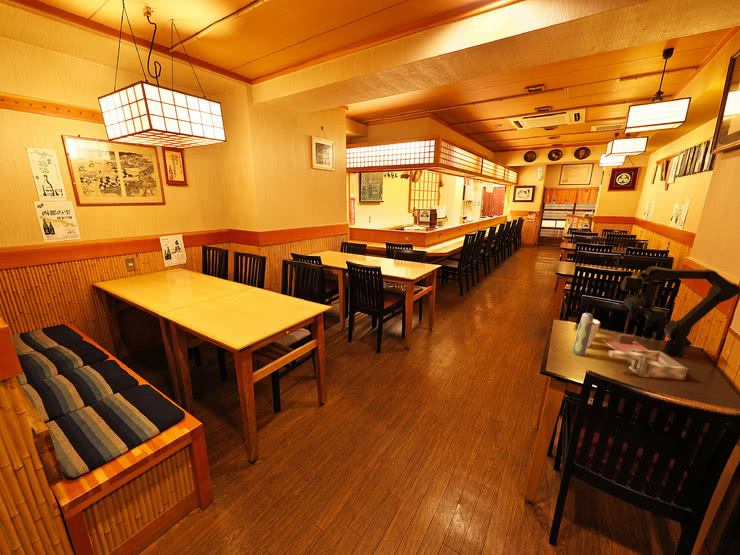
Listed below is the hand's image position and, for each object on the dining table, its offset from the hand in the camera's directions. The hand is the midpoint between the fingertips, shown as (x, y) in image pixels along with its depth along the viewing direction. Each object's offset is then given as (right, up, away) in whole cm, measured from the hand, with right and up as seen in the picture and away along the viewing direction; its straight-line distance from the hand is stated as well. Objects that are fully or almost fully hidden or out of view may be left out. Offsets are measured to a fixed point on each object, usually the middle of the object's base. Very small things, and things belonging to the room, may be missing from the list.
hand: (638, 323), depth 148 cm
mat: (-5, -12, 0) cm, 13 cm away
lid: (-5, -12, 0) cm, 13 cm away
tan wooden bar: (-24, -11, -21) cm, 33 cm away
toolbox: (-10, -17, -16) cm, 26 cm away
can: (-26, -11, +3) cm, 28 cm away
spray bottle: (-34, -13, -6) cm, 37 cm away
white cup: (-19, -9, +10) cm, 23 cm away
